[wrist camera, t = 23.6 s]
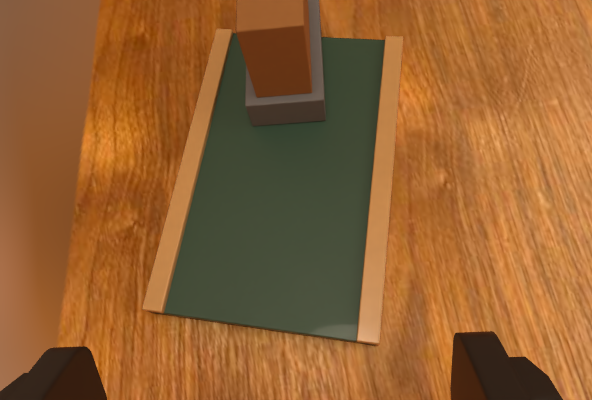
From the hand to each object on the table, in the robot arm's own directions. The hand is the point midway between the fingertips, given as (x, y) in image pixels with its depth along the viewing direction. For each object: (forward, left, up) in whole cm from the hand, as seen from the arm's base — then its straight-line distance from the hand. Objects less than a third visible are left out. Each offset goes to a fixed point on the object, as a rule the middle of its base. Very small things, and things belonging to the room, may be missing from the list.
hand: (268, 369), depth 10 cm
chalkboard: (-3, +12, -15) cm, 20 cm away
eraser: (-4, +19, -14) cm, 24 cm away
